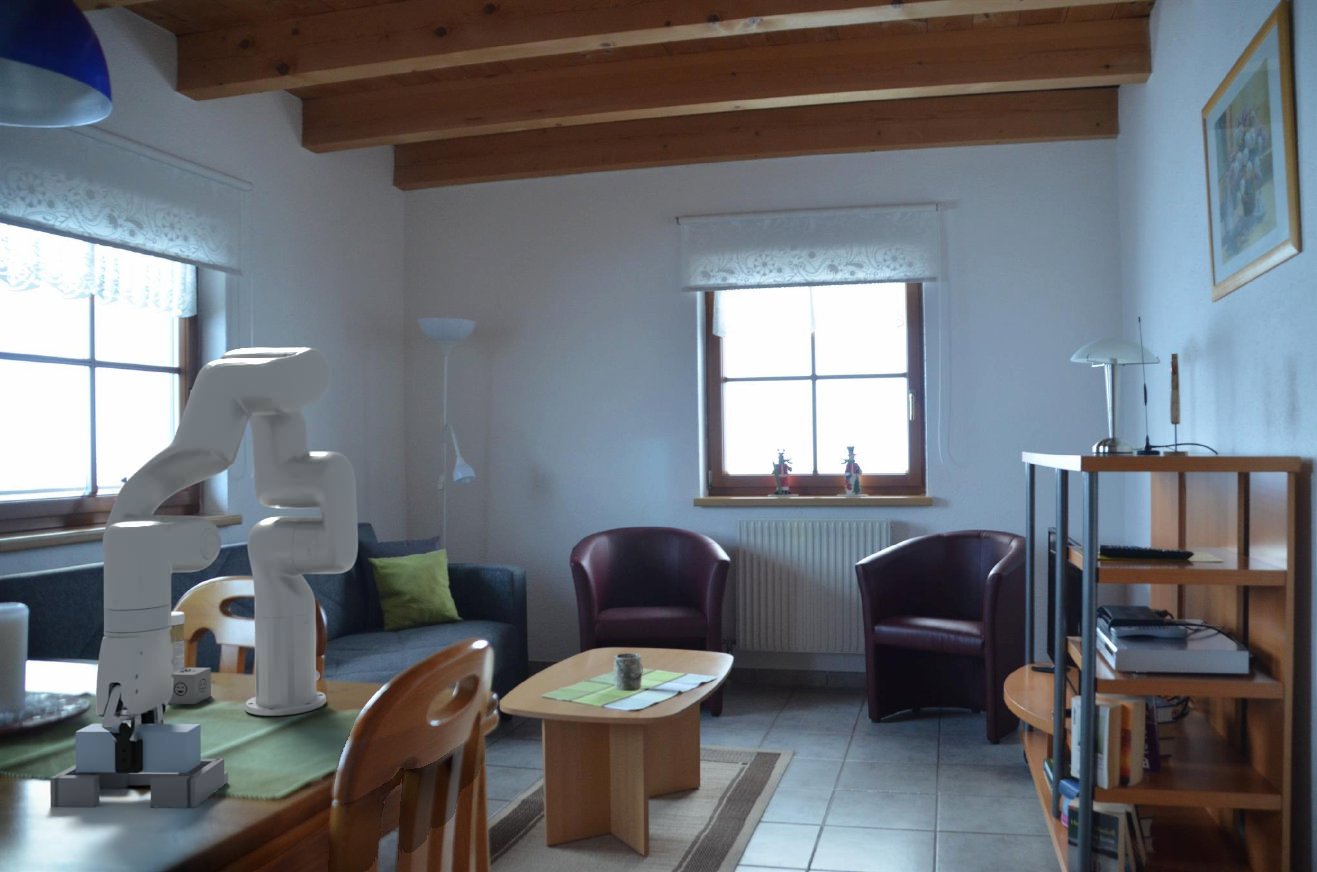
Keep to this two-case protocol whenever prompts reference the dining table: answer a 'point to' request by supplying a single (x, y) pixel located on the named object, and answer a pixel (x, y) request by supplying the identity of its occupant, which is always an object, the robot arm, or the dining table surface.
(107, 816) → the dining table surface
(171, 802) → the grey rectangular holder
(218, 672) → the dining table surface
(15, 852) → the dining table surface
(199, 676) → the grey smiley face cube
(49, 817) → the dining table surface
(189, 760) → the blue rectangular block
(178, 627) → the sprinkles bottle
